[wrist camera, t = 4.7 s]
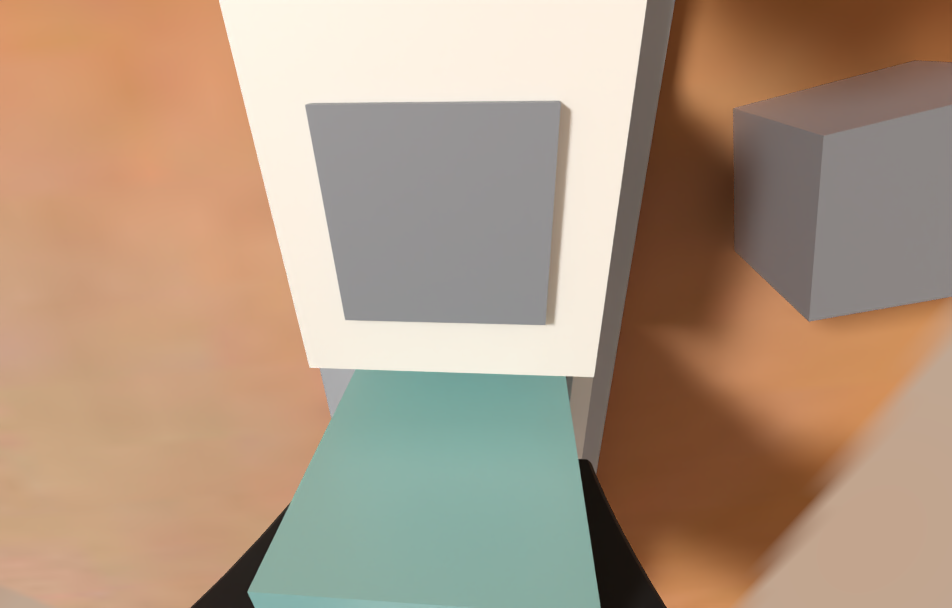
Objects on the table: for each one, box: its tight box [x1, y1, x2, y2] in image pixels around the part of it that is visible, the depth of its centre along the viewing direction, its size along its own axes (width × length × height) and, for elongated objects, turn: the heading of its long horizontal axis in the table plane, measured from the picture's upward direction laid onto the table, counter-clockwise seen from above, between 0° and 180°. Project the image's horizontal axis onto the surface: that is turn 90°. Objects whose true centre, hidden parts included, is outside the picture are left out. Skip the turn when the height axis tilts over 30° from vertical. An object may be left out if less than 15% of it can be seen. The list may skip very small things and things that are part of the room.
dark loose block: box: [733, 61, 952, 321], centre depth 10 cm, size 4×4×4 cm
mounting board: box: [219, 0, 675, 473], centre depth 13 cm, size 22×10×7 cm, turn 1°
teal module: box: [247, 369, 601, 608], centre depth 10 cm, size 6×4×7 cm
